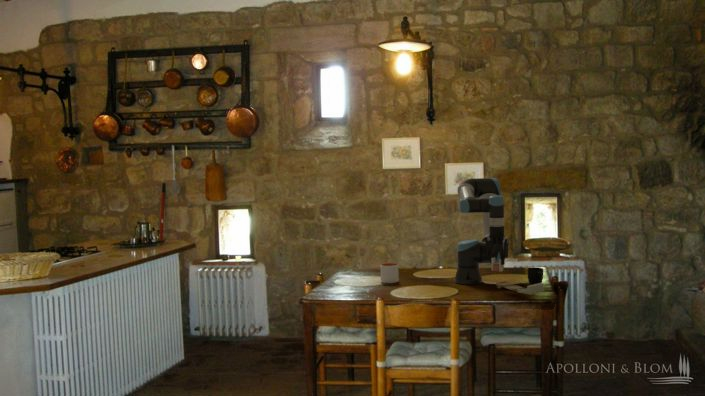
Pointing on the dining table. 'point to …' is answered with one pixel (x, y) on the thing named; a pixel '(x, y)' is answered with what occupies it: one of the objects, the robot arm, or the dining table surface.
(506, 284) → the ramp
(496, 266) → the ball
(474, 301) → the dining table surface
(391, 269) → the cup
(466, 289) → the dining table surface
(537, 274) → the mug
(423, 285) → the dining table surface
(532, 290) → the stop block
